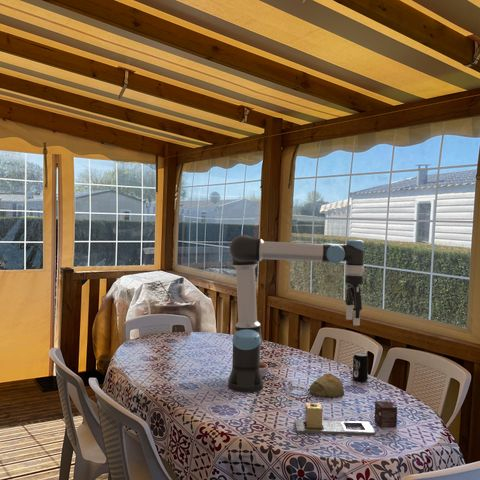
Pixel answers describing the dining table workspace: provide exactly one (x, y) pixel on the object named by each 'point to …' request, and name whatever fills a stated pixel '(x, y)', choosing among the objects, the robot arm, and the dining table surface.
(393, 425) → the box
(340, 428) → the grey board with holes
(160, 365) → the dining table surface
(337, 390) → the pastry
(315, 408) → the gold block with hole
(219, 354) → the dining table surface
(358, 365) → the beverage can
